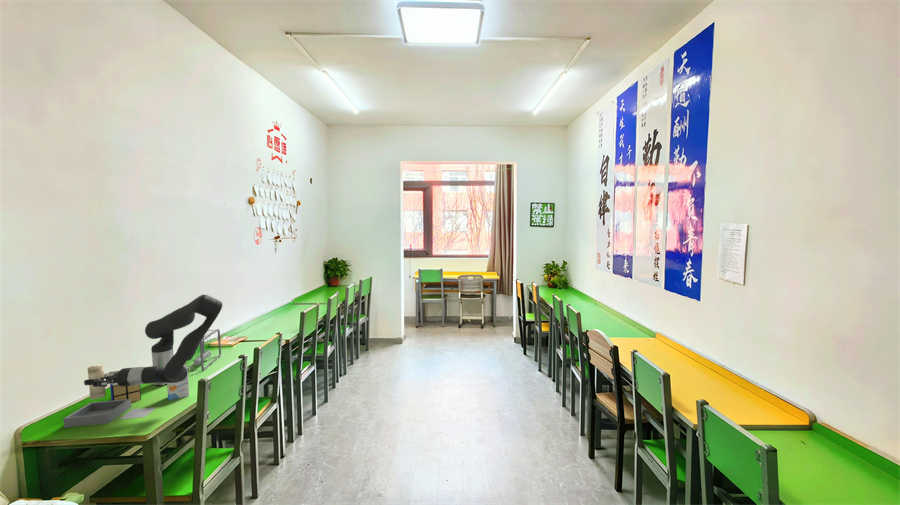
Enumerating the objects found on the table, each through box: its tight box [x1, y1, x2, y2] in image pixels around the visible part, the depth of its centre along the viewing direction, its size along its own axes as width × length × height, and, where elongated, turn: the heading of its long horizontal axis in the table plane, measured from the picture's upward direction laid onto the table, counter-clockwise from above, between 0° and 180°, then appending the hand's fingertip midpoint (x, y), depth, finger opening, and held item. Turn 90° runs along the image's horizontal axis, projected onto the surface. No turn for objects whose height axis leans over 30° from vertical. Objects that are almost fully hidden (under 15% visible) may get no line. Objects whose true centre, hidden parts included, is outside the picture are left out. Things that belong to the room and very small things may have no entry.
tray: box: [62, 399, 132, 429], centre depth 177 cm, size 16×16×4 cm
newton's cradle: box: [187, 328, 222, 372], centre depth 246 cm, size 30×10×18 cm, turn 12°
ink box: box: [166, 363, 190, 401], centre depth 196 cm, size 8×5×15 cm, turn 123°
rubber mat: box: [117, 406, 158, 420], centre depth 179 cm, size 10×10×1 cm
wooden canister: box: [87, 364, 107, 400], centre depth 176 cm, size 5×5×13 cm
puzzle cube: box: [109, 383, 142, 403], centre depth 194 cm, size 10×10×10 cm
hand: (89, 380), depth 175 cm, fingers closed on wooden canister, 5 cm apart
